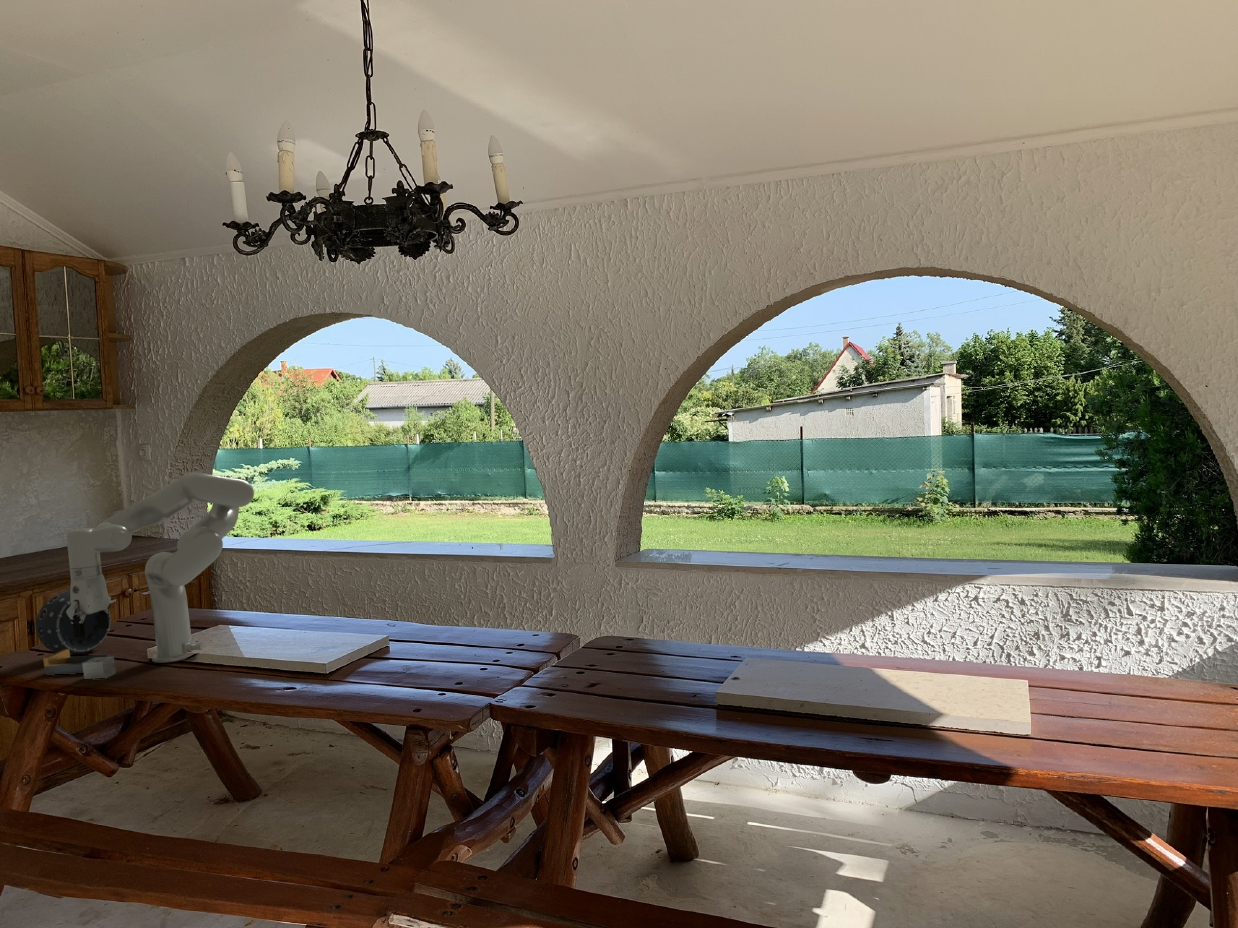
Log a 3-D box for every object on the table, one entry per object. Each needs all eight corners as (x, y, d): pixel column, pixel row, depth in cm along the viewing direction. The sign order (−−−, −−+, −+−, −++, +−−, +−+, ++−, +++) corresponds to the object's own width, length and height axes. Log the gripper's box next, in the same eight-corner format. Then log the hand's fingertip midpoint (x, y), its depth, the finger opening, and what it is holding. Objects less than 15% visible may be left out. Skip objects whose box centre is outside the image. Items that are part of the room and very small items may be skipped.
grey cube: (115, 673, 256) (113, 656, 255) (104, 679, 251) (102, 661, 250) (94, 674, 256) (91, 657, 256) (82, 680, 251) (80, 662, 251)
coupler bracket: (111, 663, 266) (109, 646, 266) (91, 673, 257) (89, 655, 257) (66, 665, 268) (64, 648, 267) (45, 675, 259) (43, 658, 258)
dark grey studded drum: (119, 645, 288) (111, 584, 286) (57, 664, 270) (49, 599, 268) (97, 643, 293) (89, 583, 291) (35, 662, 275) (26, 598, 273)
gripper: (78, 578, 242) (84, 640, 243) (118, 566, 259) (124, 624, 260) (51, 579, 243) (58, 641, 244) (93, 567, 260) (99, 625, 261)
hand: (92, 632), depth 252 cm, fingers open, 9 cm apart
